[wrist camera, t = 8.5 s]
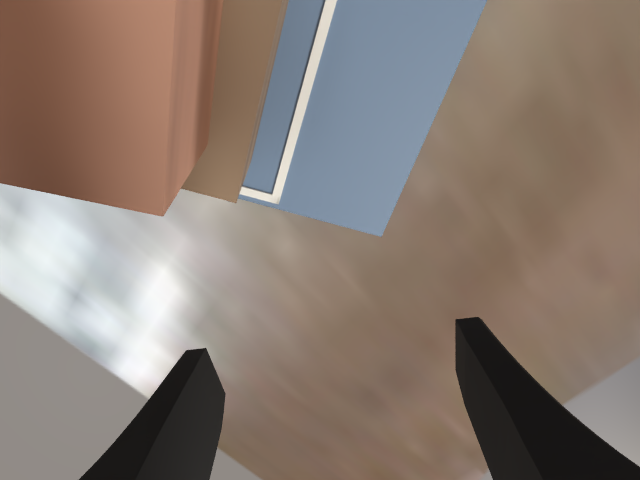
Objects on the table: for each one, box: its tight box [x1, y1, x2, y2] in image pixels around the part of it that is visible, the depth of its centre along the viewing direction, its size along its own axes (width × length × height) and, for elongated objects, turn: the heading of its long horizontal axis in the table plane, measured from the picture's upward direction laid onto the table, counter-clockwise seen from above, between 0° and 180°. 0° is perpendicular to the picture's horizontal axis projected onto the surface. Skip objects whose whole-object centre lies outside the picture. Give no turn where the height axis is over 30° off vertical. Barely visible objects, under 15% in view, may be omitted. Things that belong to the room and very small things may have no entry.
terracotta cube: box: [0, 0, 224, 216], centre depth 12 cm, size 5×5×5 cm
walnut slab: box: [181, 0, 289, 203], centre depth 15 cm, size 8×8×4 cm
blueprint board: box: [238, 0, 487, 237], centre depth 17 cm, size 18×16×1 cm
